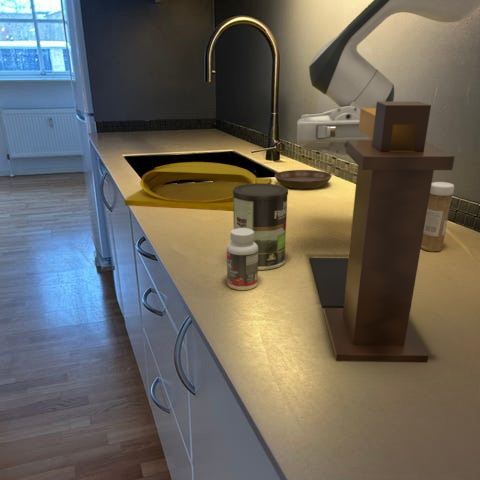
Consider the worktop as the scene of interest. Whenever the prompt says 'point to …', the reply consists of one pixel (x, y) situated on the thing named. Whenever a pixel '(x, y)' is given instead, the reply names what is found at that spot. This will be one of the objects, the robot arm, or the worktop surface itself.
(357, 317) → the pedestal
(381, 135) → the brown and tan bar
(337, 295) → the mat
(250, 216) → the coffee can
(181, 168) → the mold
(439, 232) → the spice jar
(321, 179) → the plant saucer
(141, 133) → the worktop surface
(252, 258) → the pill bottle
